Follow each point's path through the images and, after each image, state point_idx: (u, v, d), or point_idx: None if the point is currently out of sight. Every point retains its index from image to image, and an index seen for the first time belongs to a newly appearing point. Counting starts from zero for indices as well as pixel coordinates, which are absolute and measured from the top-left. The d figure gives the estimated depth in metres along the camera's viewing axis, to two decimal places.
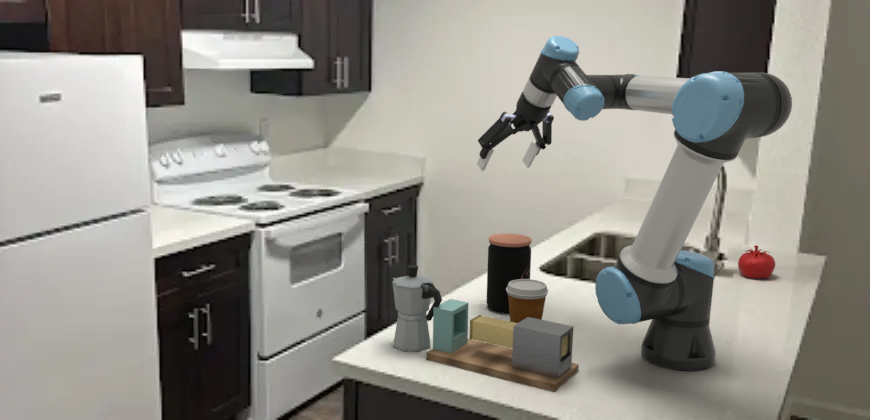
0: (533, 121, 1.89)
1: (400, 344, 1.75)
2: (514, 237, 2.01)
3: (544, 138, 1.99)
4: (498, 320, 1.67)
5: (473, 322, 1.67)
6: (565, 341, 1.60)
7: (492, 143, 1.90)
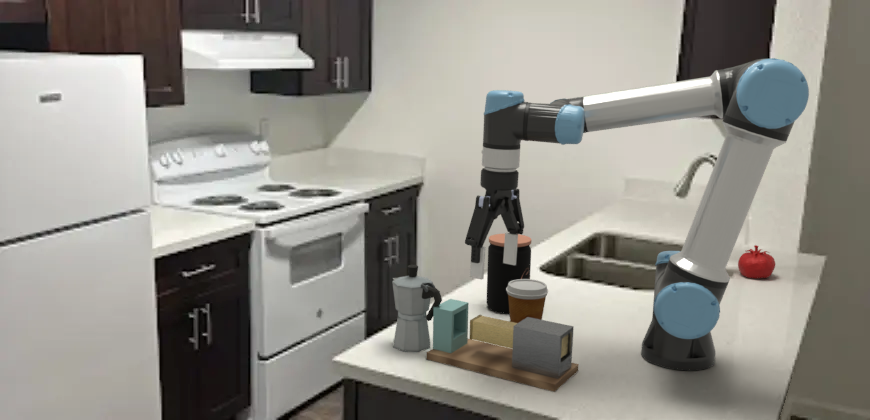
0: (506, 197, 1.63)
1: (400, 344, 1.75)
2: None
3: None
4: (498, 320, 1.67)
5: (473, 322, 1.67)
6: (565, 341, 1.60)
7: (481, 237, 1.58)
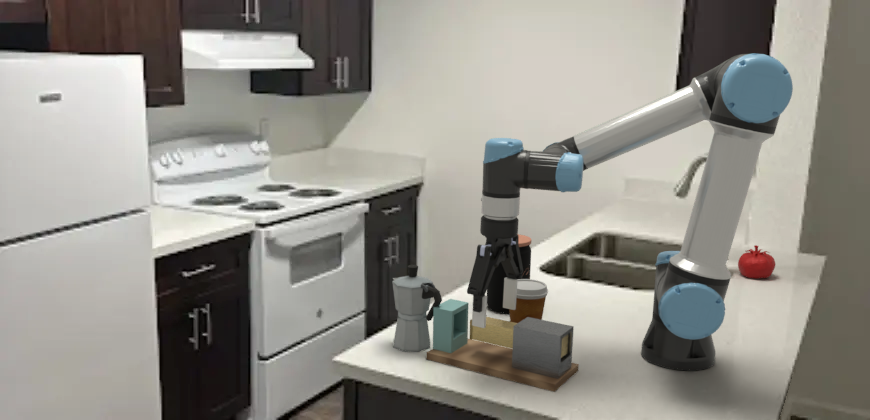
0: (506, 244, 1.63)
1: (400, 344, 1.75)
2: None
3: None
4: (498, 320, 1.67)
5: None
6: (565, 341, 1.60)
7: (483, 286, 1.58)
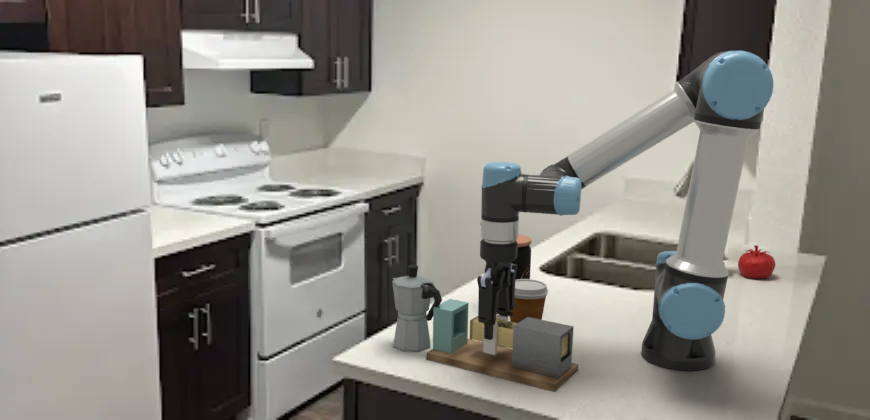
0: (506, 267, 1.64)
1: (400, 344, 1.75)
2: None
3: None
4: (498, 320, 1.67)
5: (473, 322, 1.67)
6: (565, 341, 1.60)
7: (492, 316, 1.62)
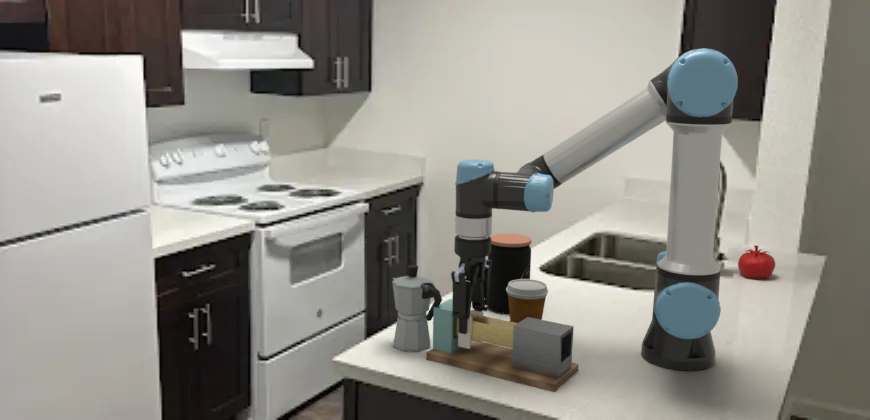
0: (481, 262, 1.67)
1: (400, 344, 1.75)
2: (514, 237, 2.01)
3: None
4: (473, 315, 1.71)
5: None
6: None
7: (466, 310, 1.65)
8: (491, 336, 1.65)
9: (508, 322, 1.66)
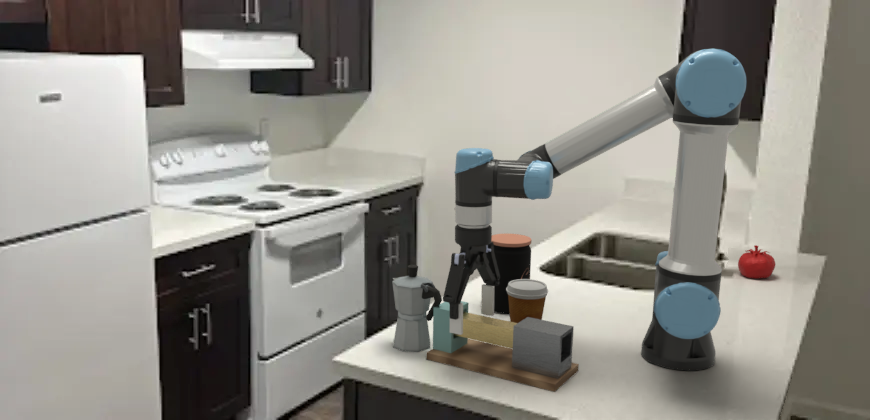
0: (481, 252, 1.67)
1: (400, 344, 1.75)
2: (514, 237, 2.01)
3: None
4: (473, 315, 1.71)
5: None
6: None
7: (458, 294, 1.61)
8: (490, 336, 1.65)
9: (508, 322, 1.66)
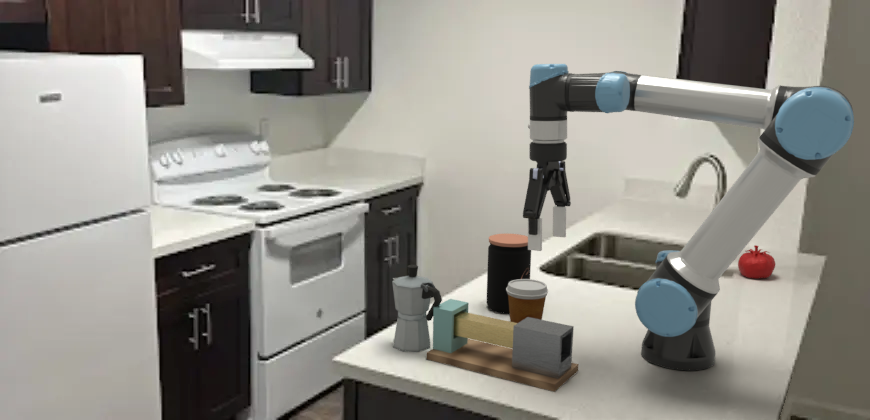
0: (556, 169, 1.66)
1: (400, 344, 1.75)
2: (514, 237, 2.01)
3: None
4: (473, 315, 1.71)
5: None
6: None
7: (538, 209, 1.60)
8: (490, 336, 1.65)
9: (508, 322, 1.66)
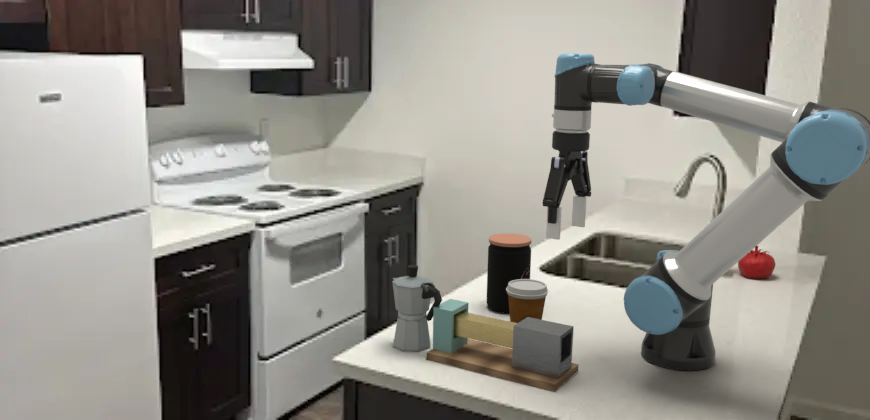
0: (577, 159, 1.66)
1: (400, 344, 1.75)
2: (514, 237, 2.01)
3: None
4: (473, 315, 1.71)
5: None
6: None
7: (558, 198, 1.61)
8: (490, 336, 1.65)
9: (508, 322, 1.66)
